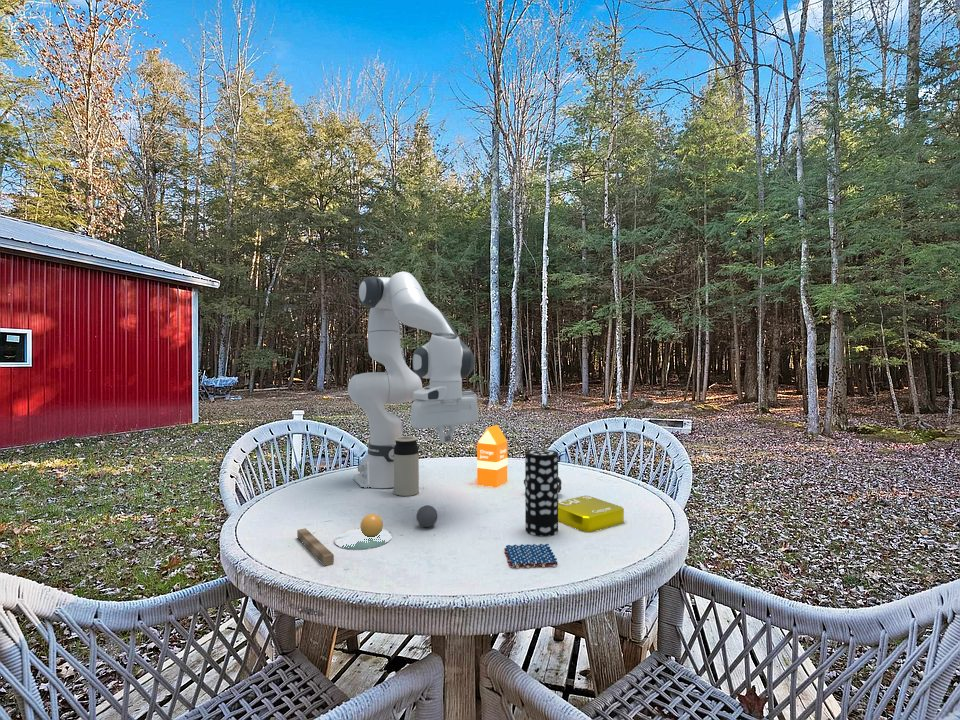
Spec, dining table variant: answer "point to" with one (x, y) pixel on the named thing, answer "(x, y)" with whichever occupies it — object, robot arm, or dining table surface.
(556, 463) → the spotted tube
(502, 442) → the orange juice
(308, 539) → the brown wooden bar
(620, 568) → the dining table surface
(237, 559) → the dining table surface
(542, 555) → the woven mat
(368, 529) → the orange ball
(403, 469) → the travel mug
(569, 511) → the element tile
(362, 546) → the teal flat disc
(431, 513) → the dark grey round ball
